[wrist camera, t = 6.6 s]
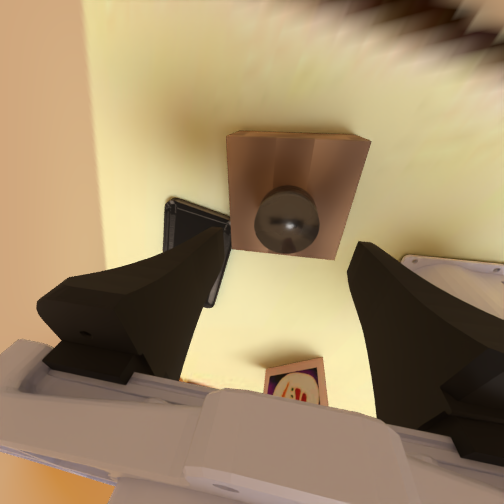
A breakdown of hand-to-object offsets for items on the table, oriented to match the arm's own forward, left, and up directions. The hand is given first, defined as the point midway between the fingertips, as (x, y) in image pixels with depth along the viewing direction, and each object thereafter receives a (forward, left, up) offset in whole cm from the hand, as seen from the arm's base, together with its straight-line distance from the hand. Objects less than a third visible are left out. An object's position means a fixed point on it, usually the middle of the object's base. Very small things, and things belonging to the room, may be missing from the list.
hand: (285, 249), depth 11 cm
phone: (+11, +9, -10) cm, 17 cm away
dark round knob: (0, 0, -10) cm, 10 cm away
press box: (0, 0, -9) cm, 9 cm away
